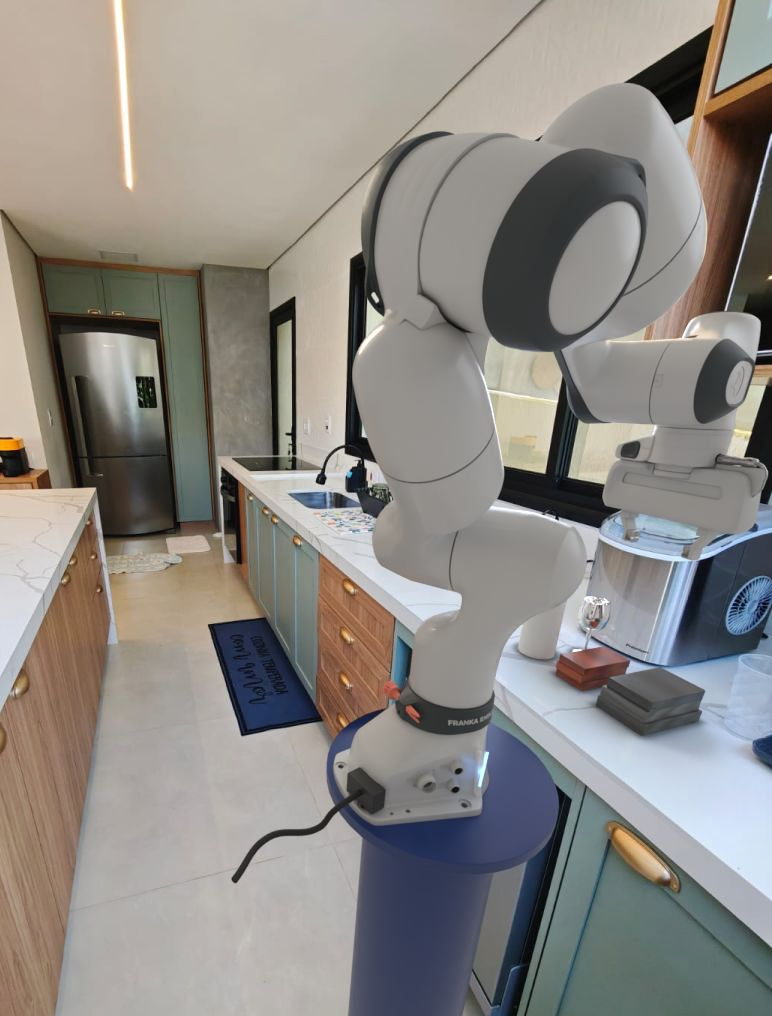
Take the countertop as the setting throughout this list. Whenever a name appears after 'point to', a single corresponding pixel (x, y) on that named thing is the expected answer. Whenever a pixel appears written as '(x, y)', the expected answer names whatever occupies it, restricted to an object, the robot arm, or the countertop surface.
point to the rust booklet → (594, 660)
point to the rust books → (586, 677)
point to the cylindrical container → (542, 633)
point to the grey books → (651, 700)
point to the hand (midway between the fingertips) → (657, 549)
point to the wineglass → (593, 616)
